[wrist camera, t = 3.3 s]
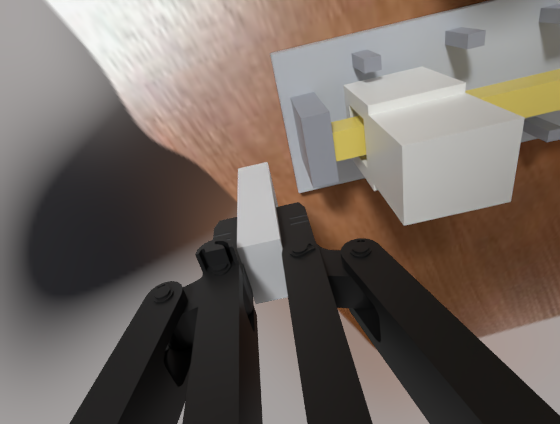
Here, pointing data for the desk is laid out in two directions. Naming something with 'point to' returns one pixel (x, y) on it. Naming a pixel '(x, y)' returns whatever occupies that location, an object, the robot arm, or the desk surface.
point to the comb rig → (411, 54)
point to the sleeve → (434, 144)
